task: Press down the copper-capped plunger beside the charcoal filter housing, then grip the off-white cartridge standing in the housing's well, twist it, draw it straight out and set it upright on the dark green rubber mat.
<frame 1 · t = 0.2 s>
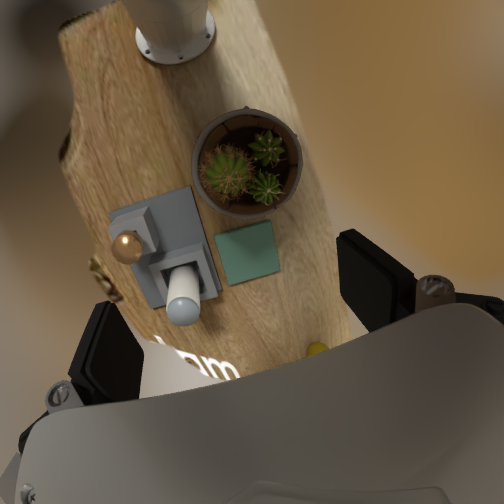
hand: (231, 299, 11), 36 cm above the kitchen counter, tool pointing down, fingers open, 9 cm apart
lemon: (312, 343, 65), on the kitchen counter
flowerpot: (237, 157, 43), on the kitchen counter
mat: (248, 252, 51), on the kitchen counter
filter housing: (184, 270, 50), on the kitchen counter
cartridge: (184, 273, 49), point 1 cm above the kitchen counter, touching filter housing
plunger: (130, 241, 39), point 7 cm above the kitchen counter, slide at 0.0 cm
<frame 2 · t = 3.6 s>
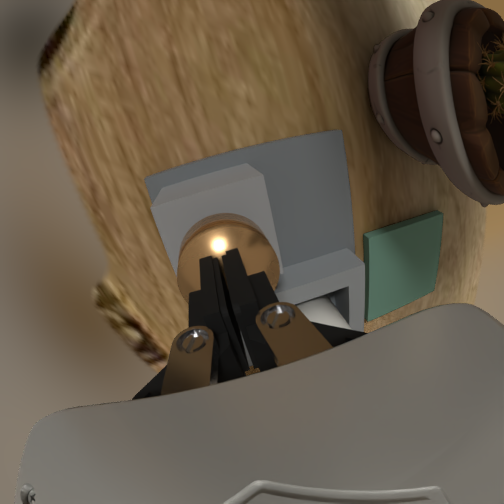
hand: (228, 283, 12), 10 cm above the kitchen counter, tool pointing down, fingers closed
flowerpot: (408, 95, 19), on the kitchen counter
mat: (402, 264, 26), on the kitchen counter
filter housing: (299, 302, 25), on the kitchen counter
cartridge: (302, 308, 25), point 1 cm above the kitchen counter, touching filter housing
plunger: (222, 246, 15), point 6 cm above the kitchen counter, slide at 0.3 cm, touching gripper
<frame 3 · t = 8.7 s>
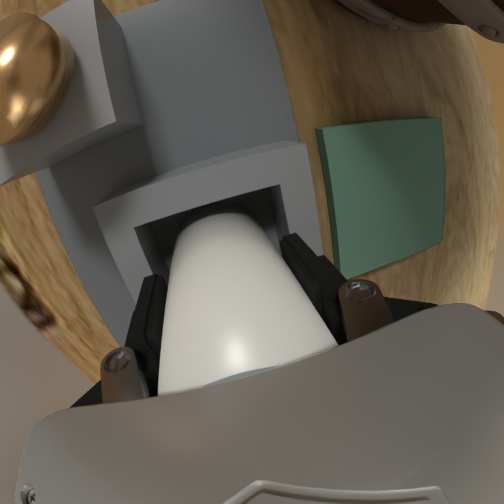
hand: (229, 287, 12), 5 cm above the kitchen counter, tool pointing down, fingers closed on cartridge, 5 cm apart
mat: (390, 191, 17), on the kitchen counter
filter housing: (218, 238, 16), on the kitchen counter
cartridge: (220, 245, 15), point 1 cm above the kitchen counter, touching filter housing, gripper
plunger: (39, 86, 7), point 5 cm above the kitchen counter, slide at 1.5 cm
when the fingers open (7 cm above the kitchen counter, at t = 16.1 s): cartridge drops 1 cm, resting on mat.
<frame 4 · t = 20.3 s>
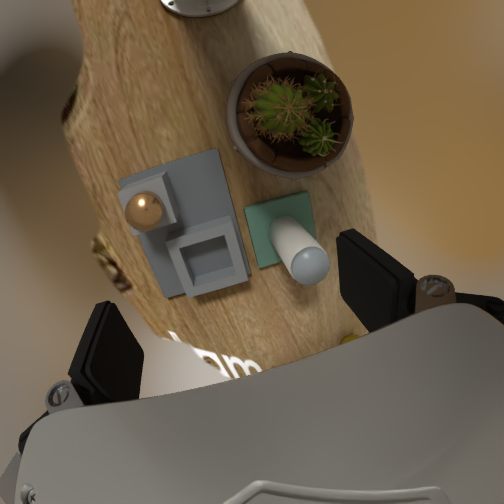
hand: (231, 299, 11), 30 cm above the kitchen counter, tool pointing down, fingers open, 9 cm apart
lemon: (345, 336, 57), on the kitchen counter
flowerpot: (271, 117, 36), on the kitchen counter
mat: (281, 228, 43), on the kitchen counter
filter housing: (207, 250, 42), on the kitchen counter
cartridge: (283, 230, 42), point 1 cm above the kitchen counter, touching mat
plunger: (147, 205, 33), point 5 cm above the kitchen counter, slide at 1.5 cm
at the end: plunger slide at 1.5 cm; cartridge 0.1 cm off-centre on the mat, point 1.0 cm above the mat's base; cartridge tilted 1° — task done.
